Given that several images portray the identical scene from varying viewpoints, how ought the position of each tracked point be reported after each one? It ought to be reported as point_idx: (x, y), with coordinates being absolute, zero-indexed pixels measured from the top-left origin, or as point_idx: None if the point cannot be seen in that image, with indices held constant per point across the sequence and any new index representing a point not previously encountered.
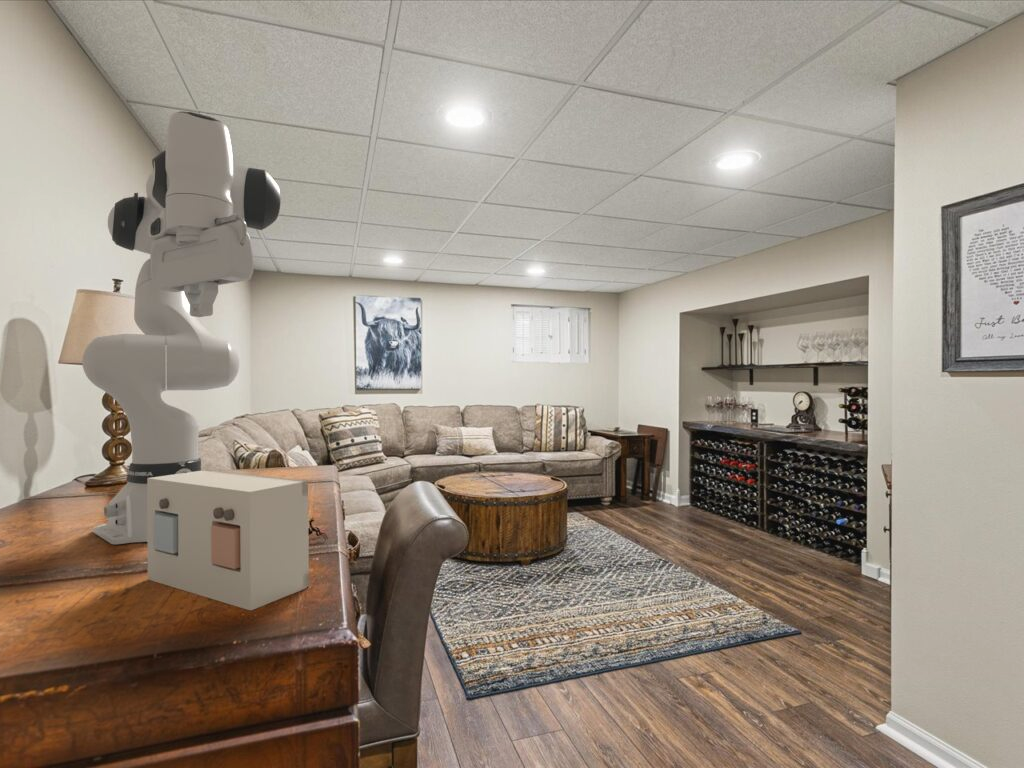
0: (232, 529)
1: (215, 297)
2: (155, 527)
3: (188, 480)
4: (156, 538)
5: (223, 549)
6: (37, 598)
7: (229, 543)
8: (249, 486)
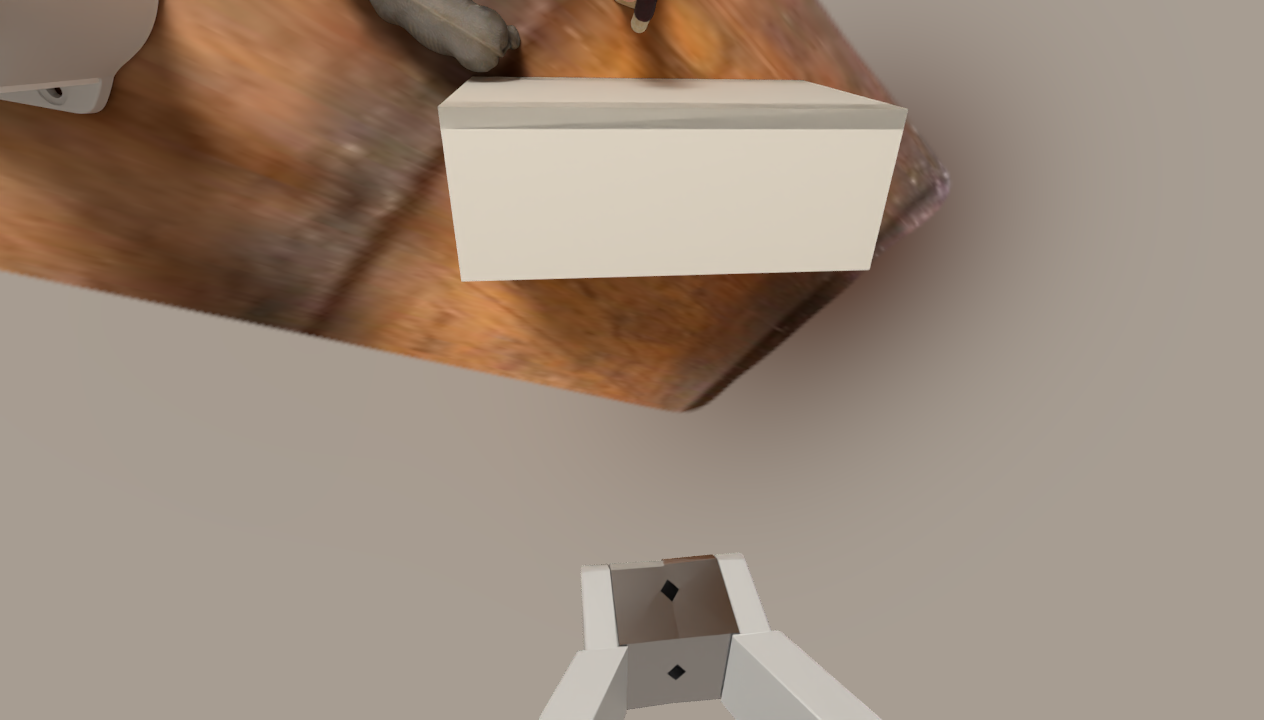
0: None
1: (835, 684)
2: None
3: (602, 251)
4: None
5: None
6: (431, 332)
7: None
8: (819, 231)
